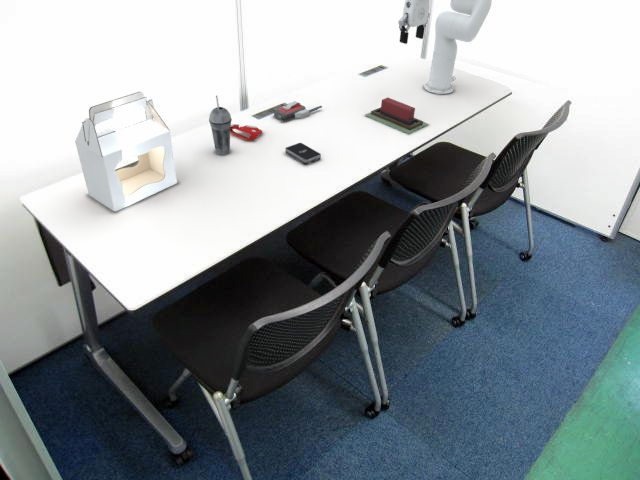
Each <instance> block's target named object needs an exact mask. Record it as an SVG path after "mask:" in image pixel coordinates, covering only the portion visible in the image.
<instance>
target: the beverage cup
mask: <svg viewBox="0 0 640 480" xmlns="http://www.w3.org/2000/svg"><path fill="white" fill-rule="evenodd" d="M215 100H216V106H215V108H213V109H212V110H211V111H210V113H209V117H208V122H209V125H210V126H209V127H210V129H211V134H212V139H213V144H214V150H215V153H216V155H219V156H225V155H228V154H229V153H230V150H231V133H230V126H231V125H232V121H233V120H232V117H231V113H230V112H229V110H228V109H227V108H225V107H223V106H220V104H219V97H218V95H215Z"/></svg>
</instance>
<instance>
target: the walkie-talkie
mask: <svg viewBox="0 0 640 480" xmlns="http://www.w3.org/2000/svg"><path fill="white" fill-rule="evenodd" d="M322 108H323V106H322V105H319V106H316V107H313V108H310V109H307V108H306V106H305V105H302V104H301V103H300V102H298V101H297V100H296V101H292V102H289V103H287V105H283V106H281V107H279V108H276V109H274V110H273V118H275V119H277V120H279V121H281V122H288V121H291V120H293V119H302V118H306V117H308V116H310V114H311V113H313V112H315V111H318V110H319V109H322Z"/></svg>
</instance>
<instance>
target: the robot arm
mask: <svg viewBox="0 0 640 480" xmlns="http://www.w3.org/2000/svg"><path fill="white" fill-rule="evenodd" d="M492 3H493V1H492V0H450V5H449V6H450V8H451V10H452V11H448V10H447V11H442V12H440V13H439V14H438V15H437V17H436V19H435V23H434V24H435V25H434V32H435V34H434V35H435V36H434V46H433V52H432V58H431V64H430V71H429V75H428V76H429V77H428V81H427V82H425V83H424V85H423V88H424V90H426V91H427V92H429V93H431V94H432V93H433V94H437V95H449V94H451V93H453V92H454V90H455V89H454V86H453V85H452V83H453V82H455V81H457V77H456V76H455V75H453V74H454V70H455V63H456V58H457V53H458V43H457V41H459V42H464V43H470V42H472V41H473V40H474V39H476V38H477V36H478V34H479V32H480V30H481V28H482V27H483V24H484V22H485V20H486V18H487V17H488V14H489V13H490V10H491V7H492ZM429 7H430V0H405V1H404V6H403V11H402V16H401V18H399V19H398V28H399V31H400V33H399V34H400V35H399V43H401V44H405V45H407V44H408V41H409V33H410V32H409V31H410V28H415V27H416V30H415V38H417V39H419V40H423V39H424V35H425V29H426V28H427V23H428V22H429V18H430V15H431V14H430V11H429V10H430V8H429ZM456 40H457V41H456Z"/></svg>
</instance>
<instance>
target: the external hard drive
mask: <svg viewBox="0 0 640 480" xmlns="http://www.w3.org/2000/svg"><path fill="white" fill-rule="evenodd" d="M284 152H285V154H287V155H289V156H290V157H292V158H294V159H295V160H297V161H299V162H300V163H302V164H304V165H308V164H311V163H314V162H317V161H319V160H321V159H322V154H321V153H320V152H319V151H317V150H315V149H313V148H312V147H310V146H308V145H307V144H304V143H303V142H298V143H294V144H292V145H289V146H286V147H285V151H284Z"/></svg>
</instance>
